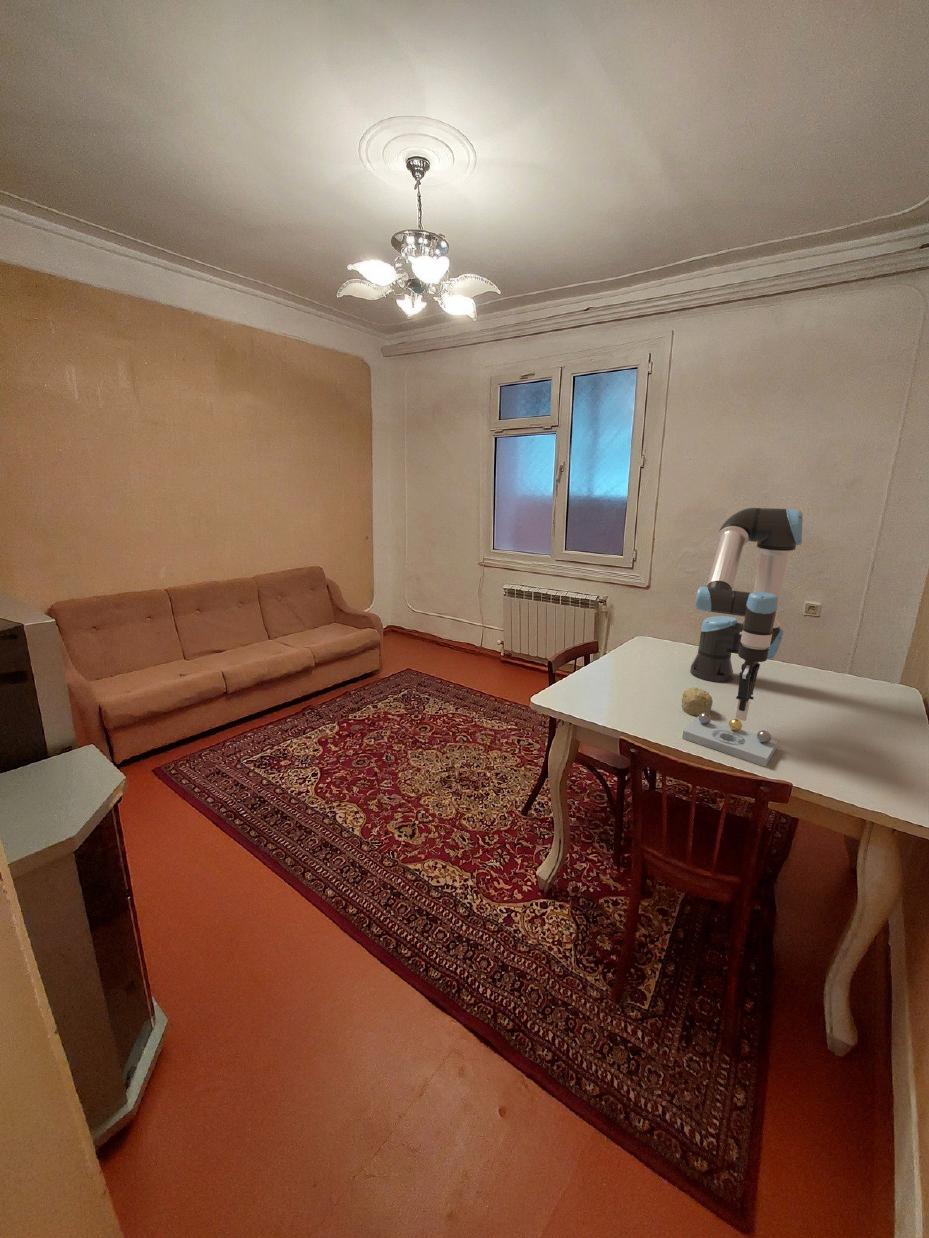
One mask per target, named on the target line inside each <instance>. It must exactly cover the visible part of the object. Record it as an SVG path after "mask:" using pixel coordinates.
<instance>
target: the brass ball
mask: <svg viewBox="0 0 929 1238" xmlns="http://www.w3.org/2000/svg"><path fill="white" fill-rule="evenodd" d="M728 725H729V727H730V729H732V730H734V731H738V730H740V729H742V728H743V723H742V720H740V719H736V718H732V719H731V720H729V722H728Z"/></svg>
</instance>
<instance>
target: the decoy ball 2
mask: <svg viewBox="0 0 929 1238" xmlns="http://www.w3.org/2000/svg"><path fill="white" fill-rule="evenodd" d="M756 734H757V739H758V740H759V741H760V742H762V743H768V742H769V741H770V740H771V739H772V735H771V733H770V732H769V731H767V730H760V731H758V732H757V733H756Z"/></svg>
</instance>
